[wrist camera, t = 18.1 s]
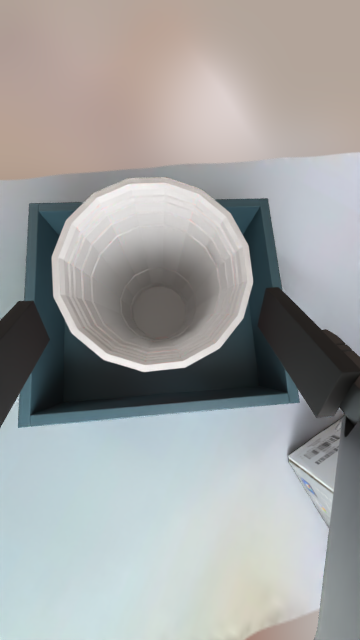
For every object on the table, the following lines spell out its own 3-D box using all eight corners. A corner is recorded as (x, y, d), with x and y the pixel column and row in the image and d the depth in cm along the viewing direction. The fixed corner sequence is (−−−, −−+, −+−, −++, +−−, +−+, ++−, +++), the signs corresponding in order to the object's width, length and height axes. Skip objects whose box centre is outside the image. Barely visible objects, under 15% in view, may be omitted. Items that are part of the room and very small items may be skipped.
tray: (58, 409, 22) (17, 428, 16) (62, 241, 25) (28, 202, 19) (265, 392, 24) (300, 402, 18) (244, 236, 27) (267, 198, 21)
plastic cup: (122, 381, 22) (73, 404, 10) (95, 279, 24) (28, 199, 12) (226, 349, 24) (287, 335, 12) (194, 253, 25) (219, 158, 13)
